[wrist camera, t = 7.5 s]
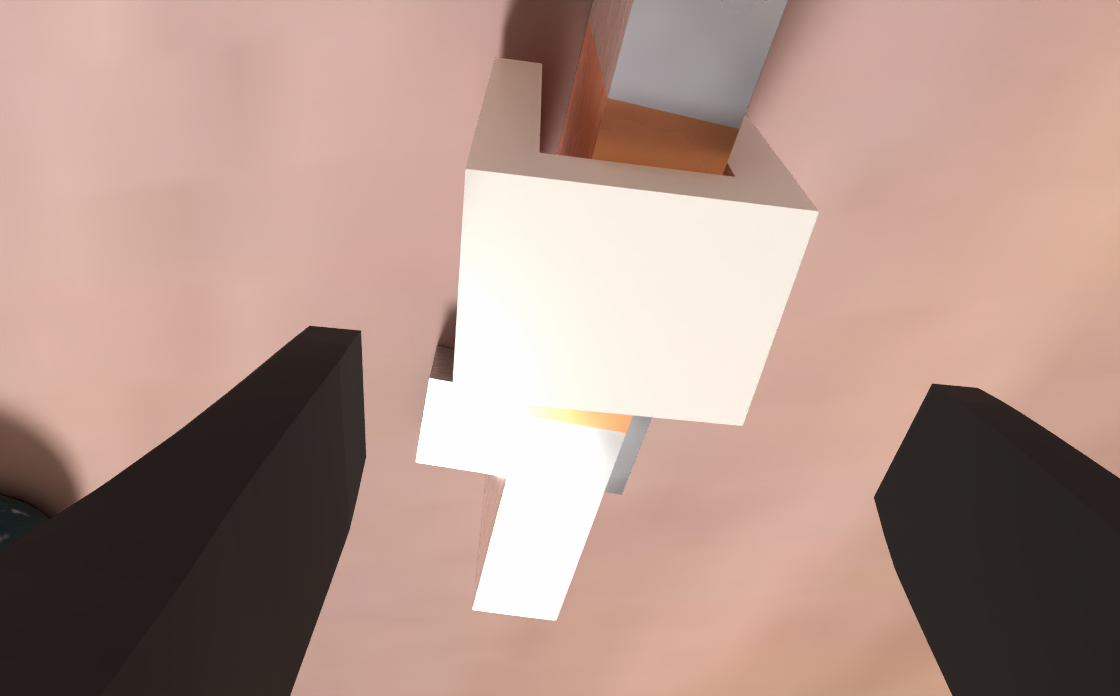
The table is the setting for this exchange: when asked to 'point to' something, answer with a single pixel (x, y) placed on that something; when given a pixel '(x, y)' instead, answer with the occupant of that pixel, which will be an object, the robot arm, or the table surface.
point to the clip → (618, 271)
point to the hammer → (17, 519)
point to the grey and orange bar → (618, 136)
